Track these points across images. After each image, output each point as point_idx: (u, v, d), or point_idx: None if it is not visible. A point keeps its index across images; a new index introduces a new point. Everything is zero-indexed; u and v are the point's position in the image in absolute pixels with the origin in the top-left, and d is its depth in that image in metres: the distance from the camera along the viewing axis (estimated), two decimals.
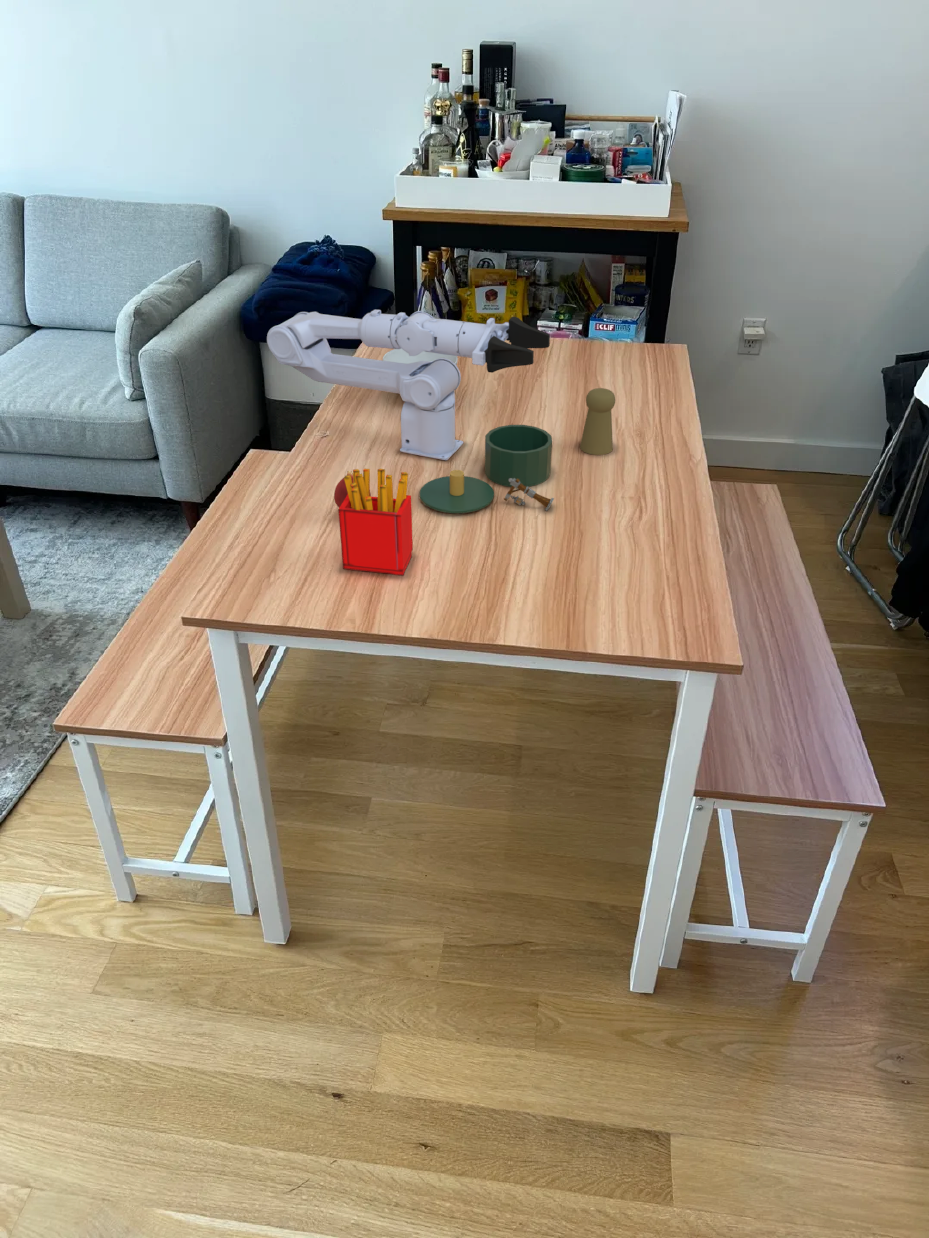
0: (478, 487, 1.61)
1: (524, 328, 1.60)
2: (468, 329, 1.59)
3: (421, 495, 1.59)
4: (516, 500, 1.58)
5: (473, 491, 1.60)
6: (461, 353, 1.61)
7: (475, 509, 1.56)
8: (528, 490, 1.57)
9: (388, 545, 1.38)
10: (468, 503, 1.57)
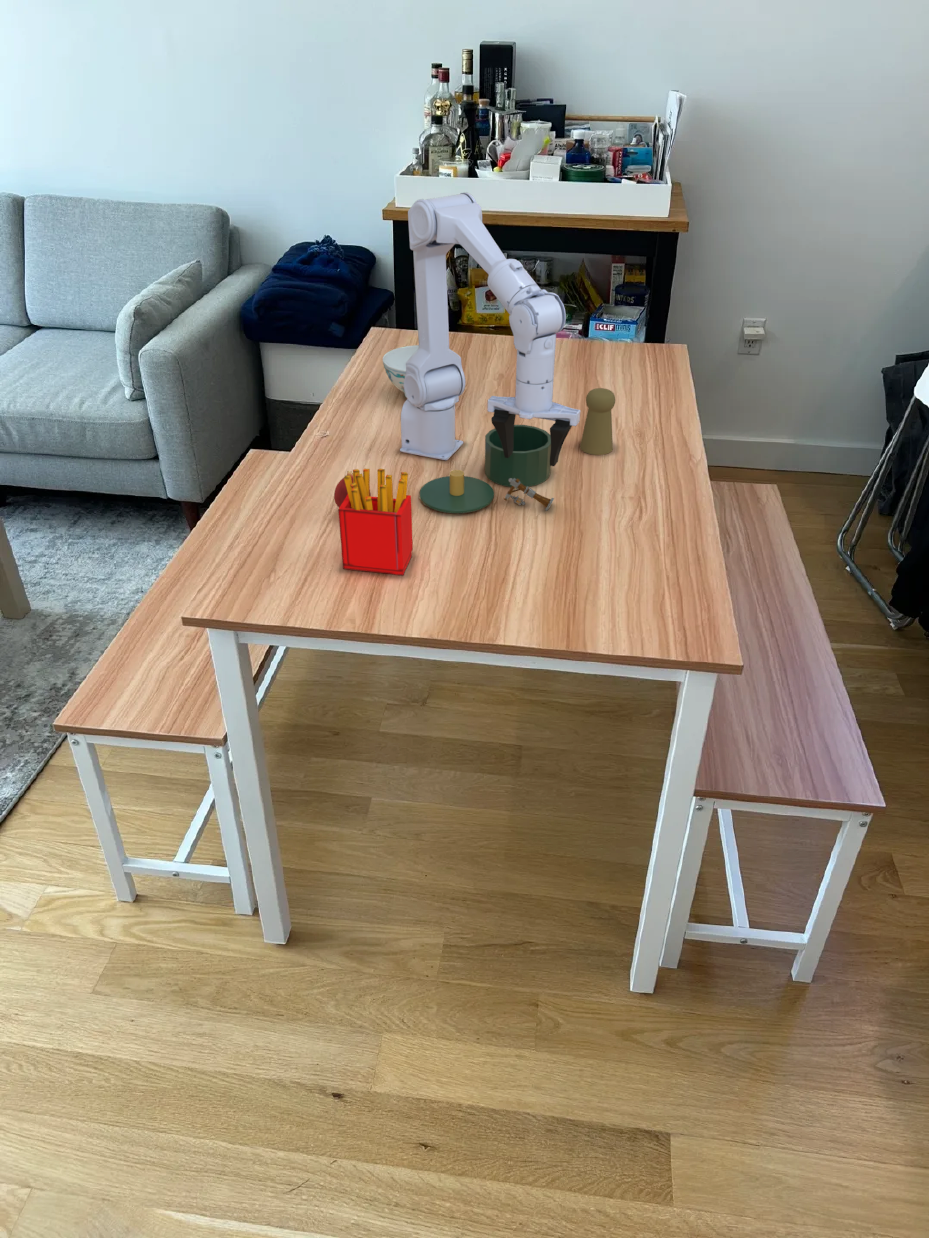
0: (478, 487, 1.61)
1: (551, 442, 1.48)
2: (519, 390, 1.45)
3: (421, 495, 1.59)
4: (516, 500, 1.58)
5: (473, 491, 1.60)
6: None
7: (475, 509, 1.56)
8: (528, 490, 1.57)
9: (388, 545, 1.38)
10: (468, 503, 1.57)
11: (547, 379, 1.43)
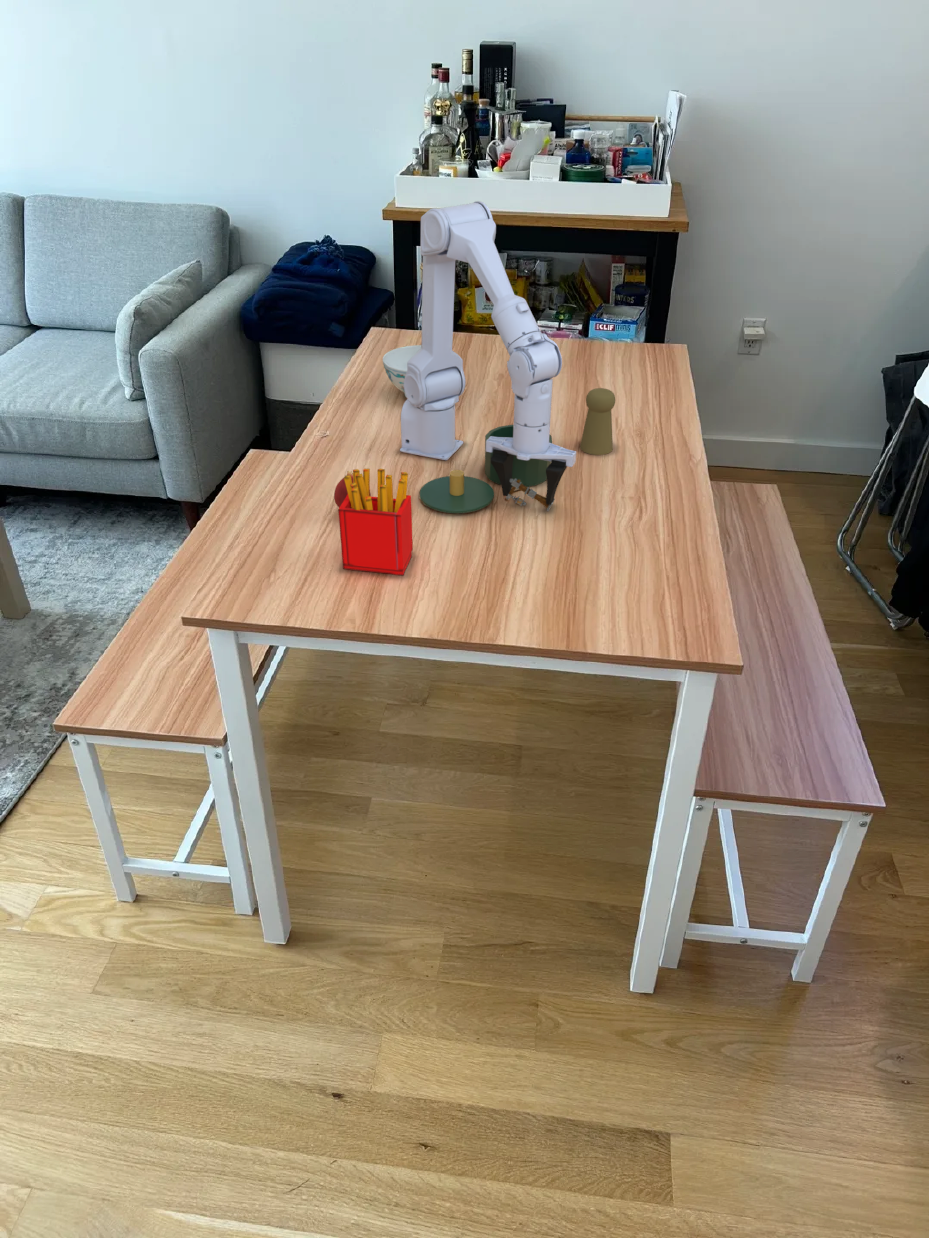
0: (478, 487, 1.61)
1: (547, 482, 1.52)
2: (517, 432, 1.49)
3: (421, 495, 1.59)
4: (517, 500, 1.58)
5: (473, 491, 1.60)
6: None
7: (475, 509, 1.56)
8: (529, 490, 1.56)
9: (388, 545, 1.38)
10: (468, 503, 1.57)
11: (544, 422, 1.47)
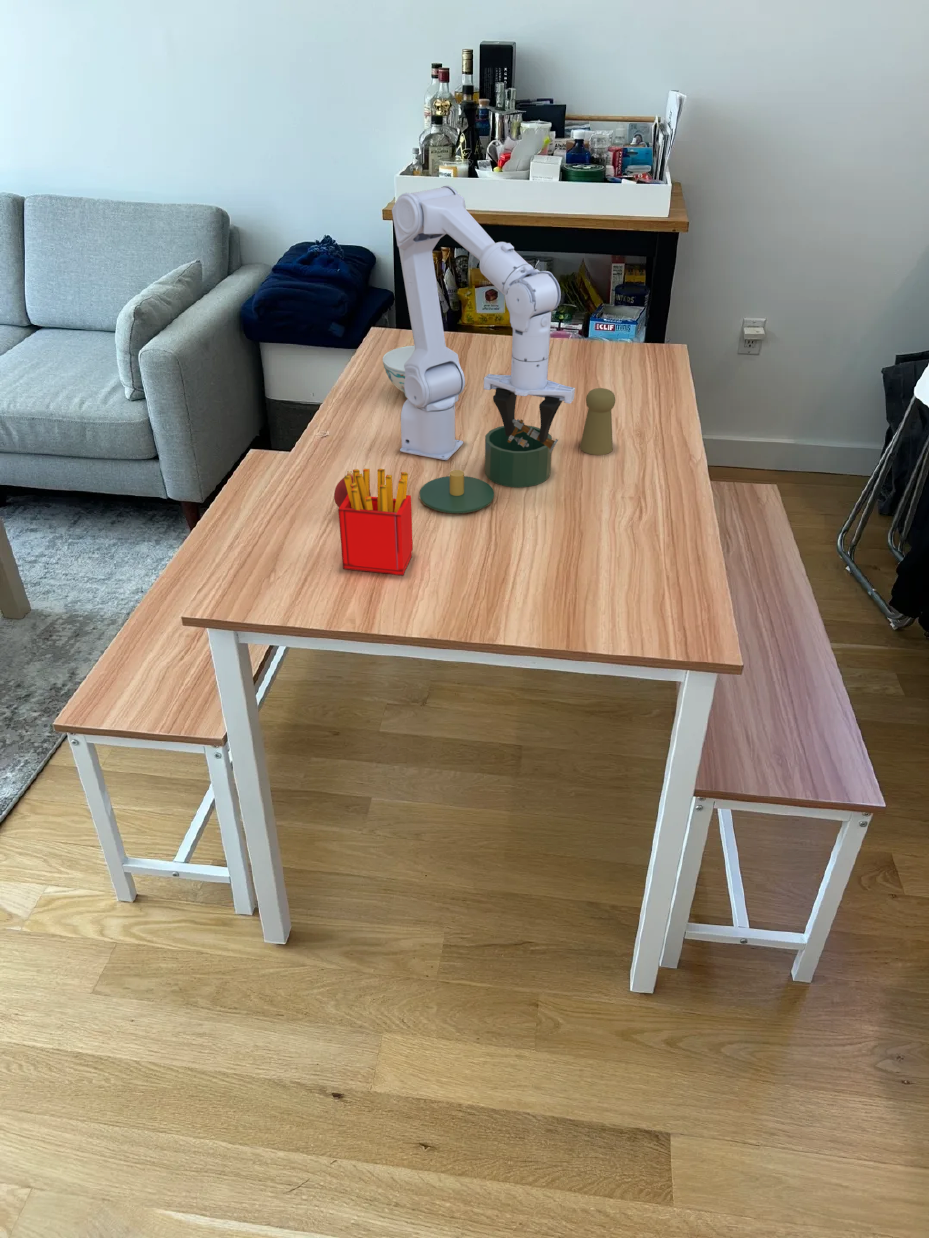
0: (478, 487, 1.61)
1: (540, 418, 1.51)
2: (515, 368, 1.48)
3: (421, 495, 1.59)
4: (520, 442, 1.57)
5: (473, 491, 1.60)
6: None
7: (475, 509, 1.56)
8: (532, 431, 1.55)
9: (388, 545, 1.38)
10: (468, 503, 1.57)
11: (543, 356, 1.46)
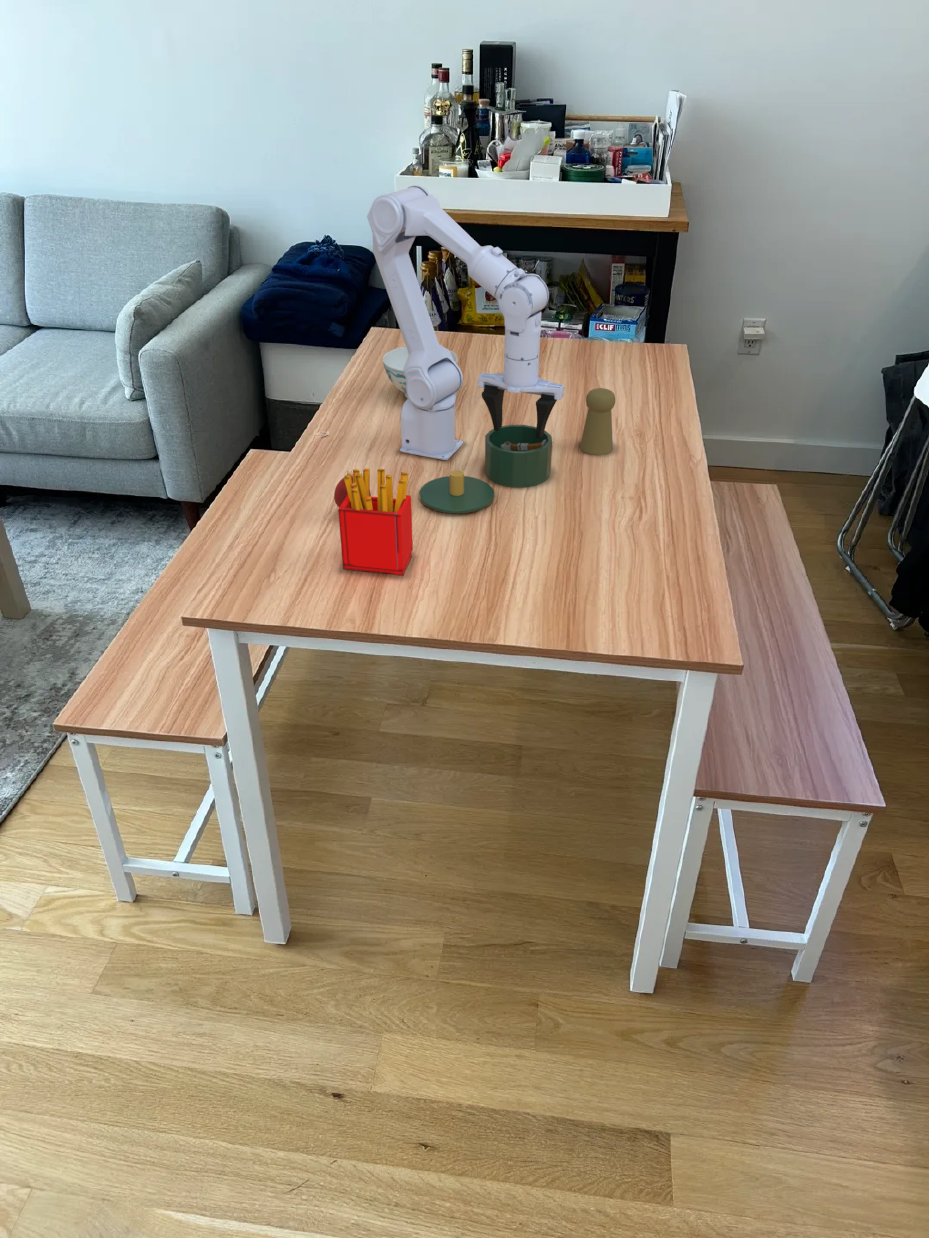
0: (478, 487, 1.61)
1: (537, 415, 1.59)
2: (507, 366, 1.56)
3: (421, 495, 1.59)
4: None
5: (473, 491, 1.60)
6: None
7: (475, 509, 1.56)
8: (520, 445, 1.65)
9: (388, 545, 1.38)
10: (468, 503, 1.57)
11: (537, 354, 1.55)
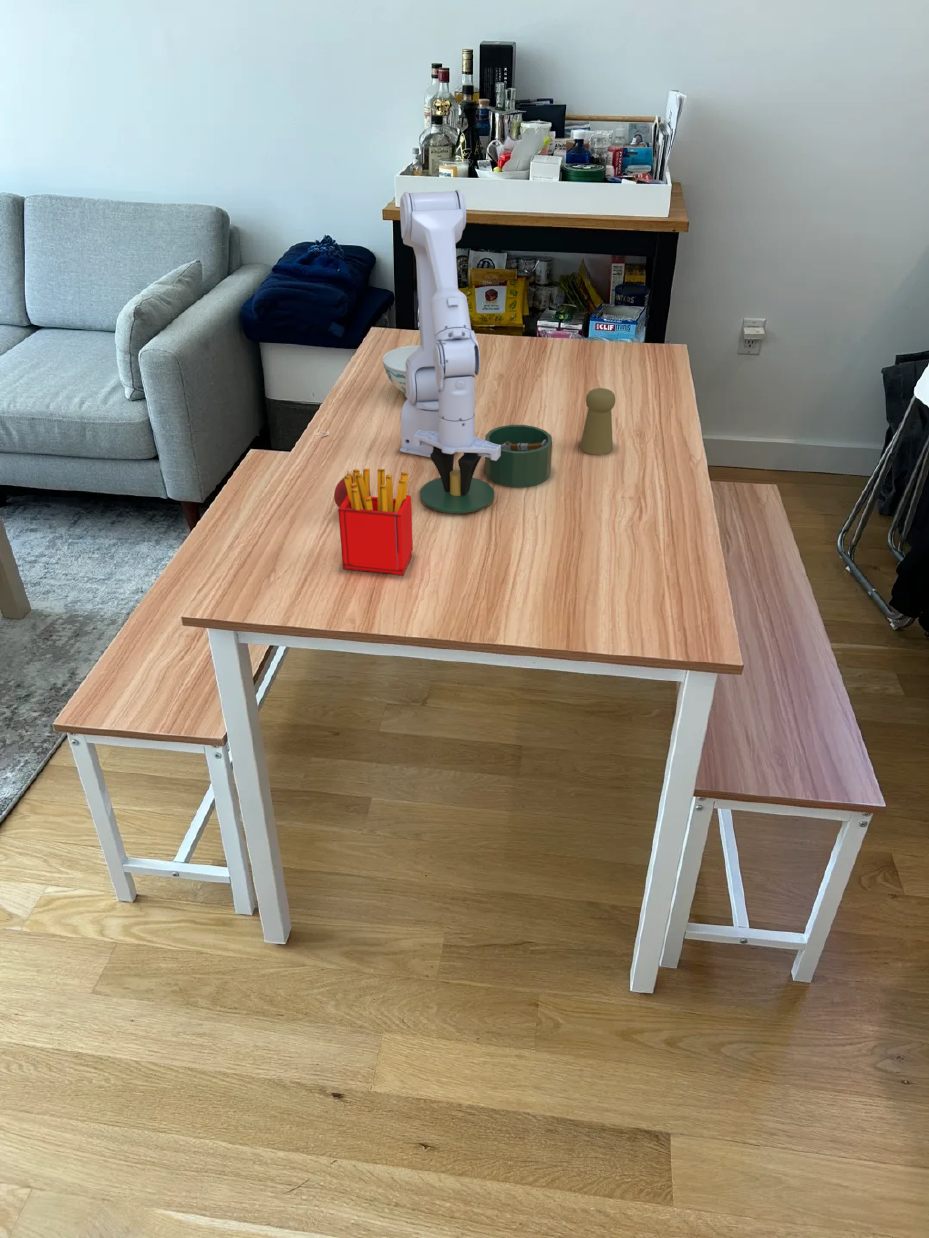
0: (478, 487, 1.61)
1: (460, 473, 1.55)
2: (442, 426, 1.51)
3: (421, 495, 1.59)
4: None
5: (473, 491, 1.60)
6: None
7: (475, 509, 1.56)
8: (520, 445, 1.65)
9: (388, 545, 1.38)
10: (468, 503, 1.57)
11: (461, 417, 1.49)
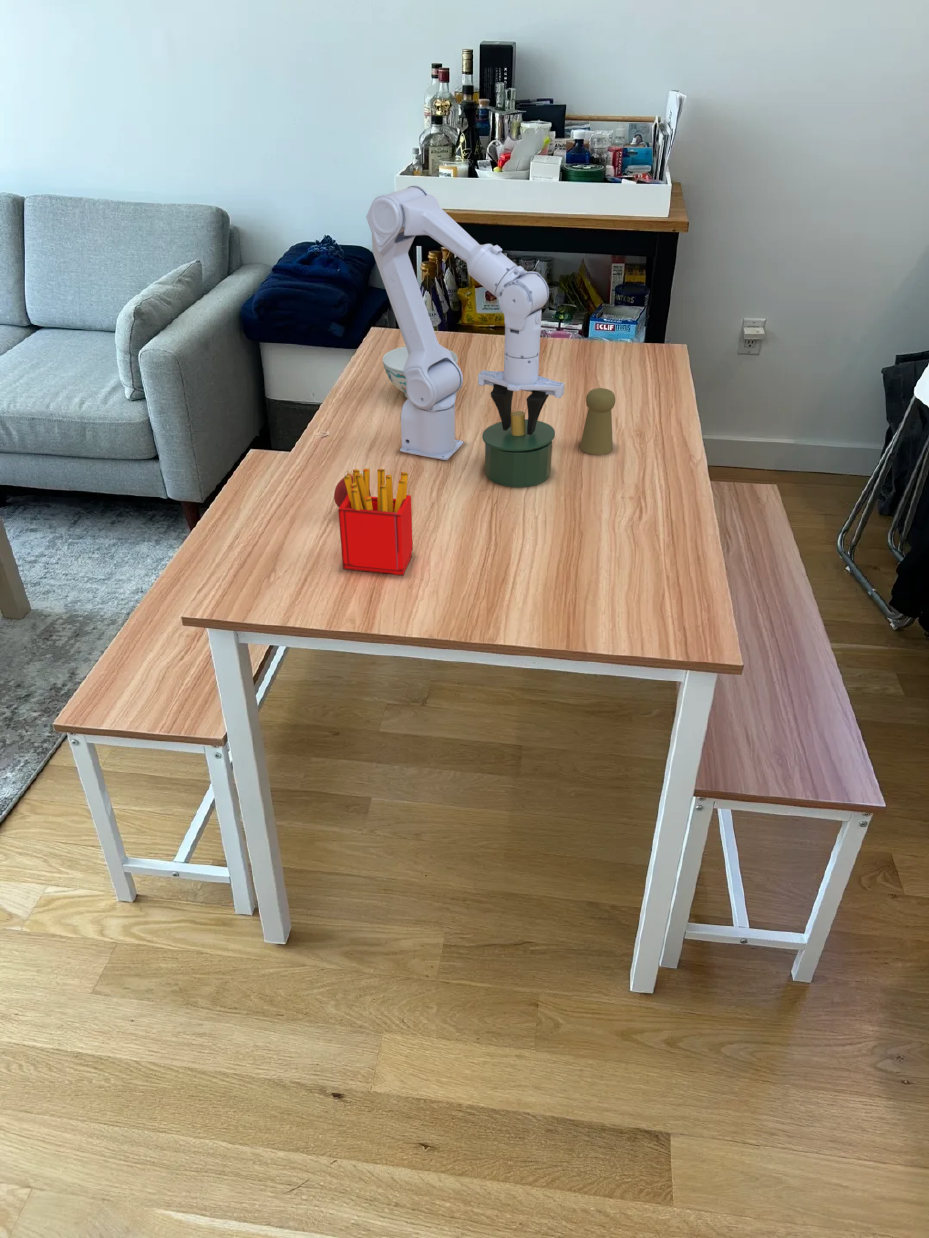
0: (538, 427, 1.66)
1: (528, 411, 1.59)
2: (507, 364, 1.55)
3: (484, 438, 1.64)
4: None
5: (534, 431, 1.64)
6: None
7: (538, 446, 1.60)
8: None
9: (388, 545, 1.38)
10: (530, 441, 1.61)
11: (537, 352, 1.54)
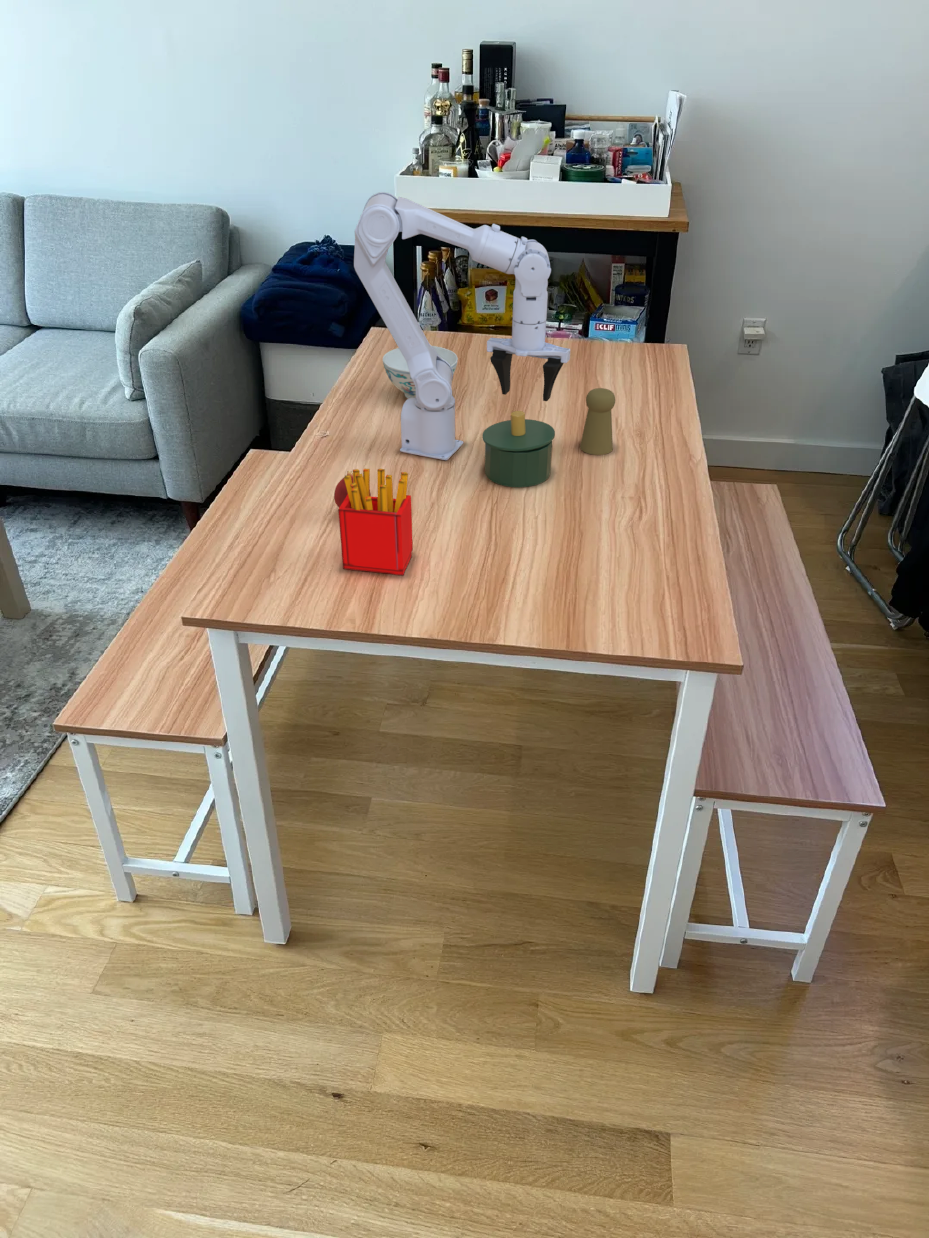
0: (538, 427, 1.66)
1: (544, 378, 1.65)
2: (516, 330, 1.61)
3: (484, 438, 1.64)
4: None
5: (534, 431, 1.64)
6: None
7: (538, 446, 1.60)
8: None
9: (388, 545, 1.38)
10: (530, 441, 1.61)
11: None
